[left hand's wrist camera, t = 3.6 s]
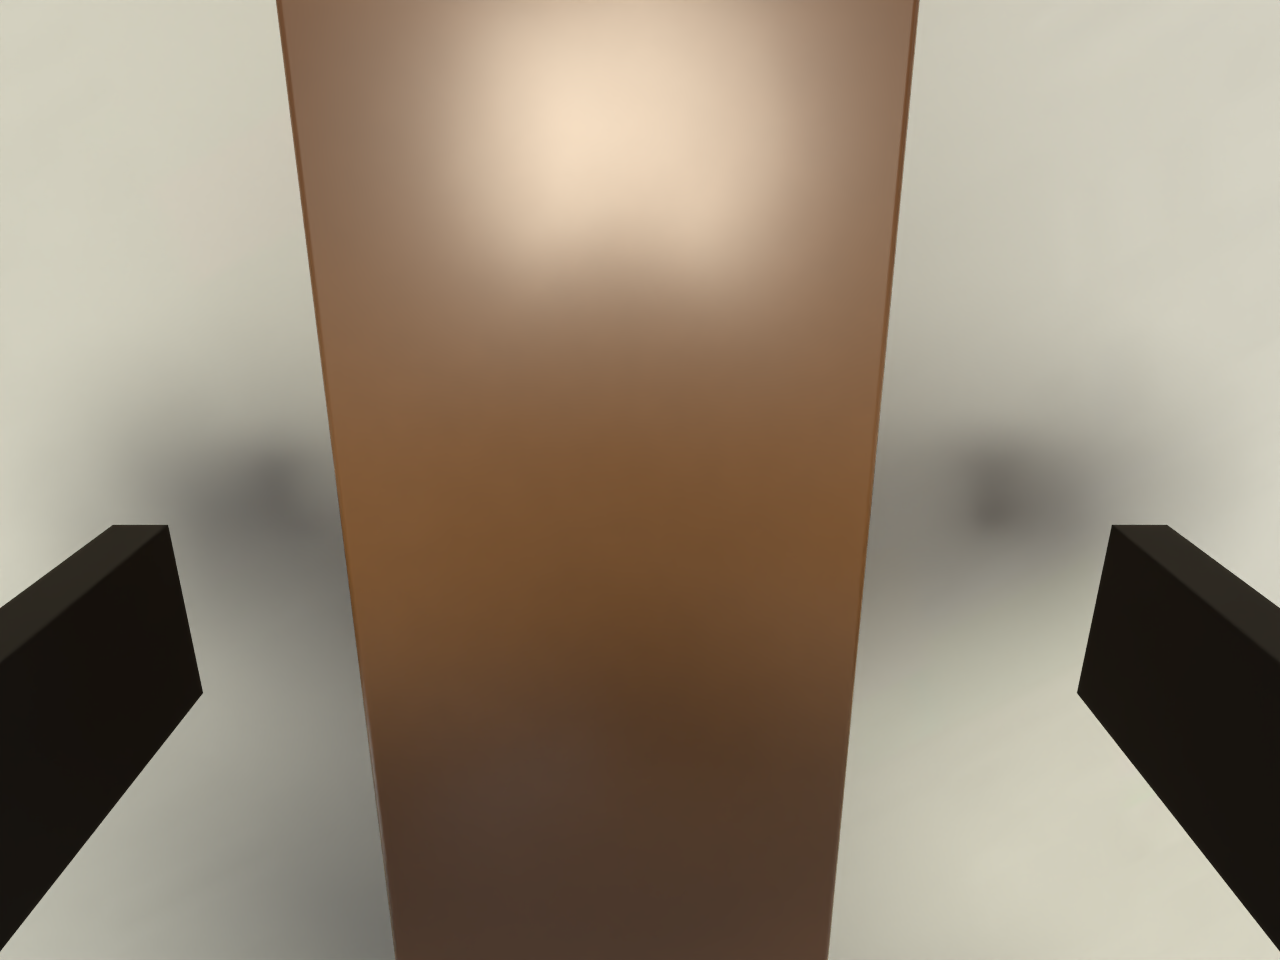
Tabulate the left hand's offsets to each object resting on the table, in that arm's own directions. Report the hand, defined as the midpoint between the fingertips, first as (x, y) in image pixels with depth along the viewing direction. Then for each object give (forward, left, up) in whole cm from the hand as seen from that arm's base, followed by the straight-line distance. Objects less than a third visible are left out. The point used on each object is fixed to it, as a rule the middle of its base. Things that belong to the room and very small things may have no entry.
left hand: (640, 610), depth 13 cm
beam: (+23, +11, -5) cm, 26 cm away
